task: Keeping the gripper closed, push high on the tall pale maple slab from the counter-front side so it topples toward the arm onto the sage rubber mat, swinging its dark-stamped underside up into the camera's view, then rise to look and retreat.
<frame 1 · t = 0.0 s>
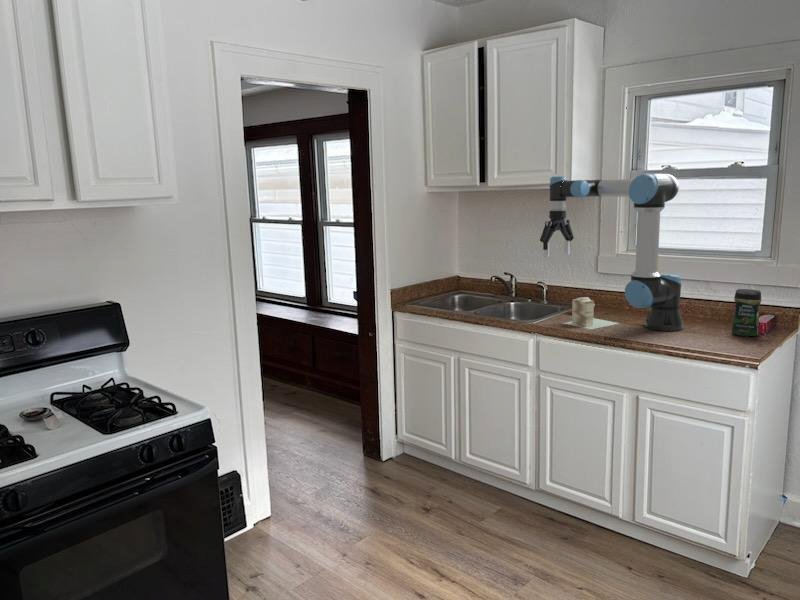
hand: (556, 255, 309), 28 cm above the counter, fingers open, 13 cm apart
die: (583, 314, 311), on the counter
mat: (590, 323, 290), on the counter
maple slab: (582, 324, 287), resting on mat
coffee jar: (744, 335, 265), on the counter
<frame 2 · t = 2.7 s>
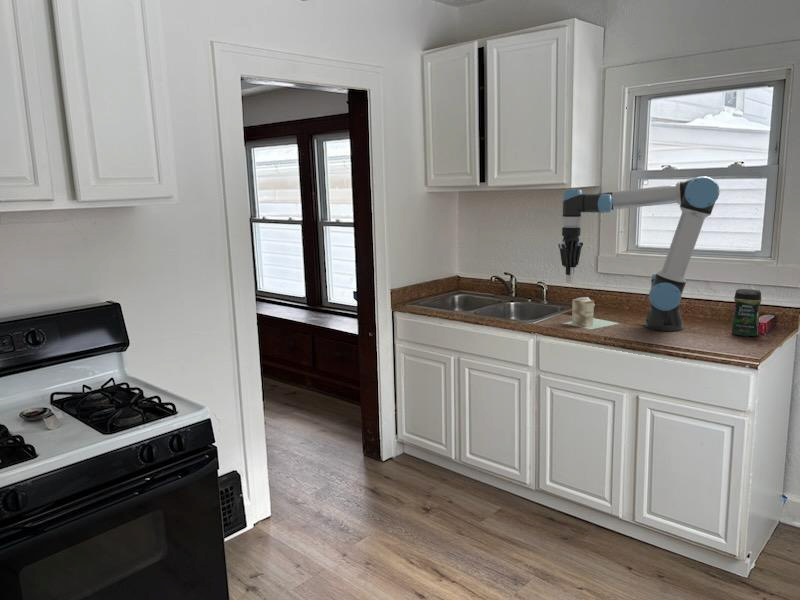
hand: (569, 282, 279), 20 cm above the counter, fingers closed
nothing on the counter moved.
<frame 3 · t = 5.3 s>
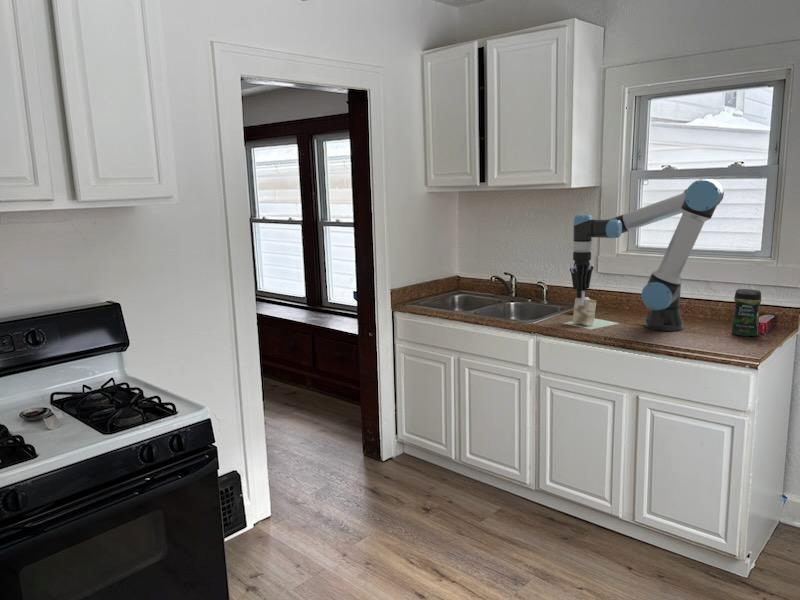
hand: (580, 305, 285), 9 cm above the counter, fingers closed
maple slab: (582, 324, 287), point 1 cm above the counter, tilted 9°, touching mat
everything else where it was.
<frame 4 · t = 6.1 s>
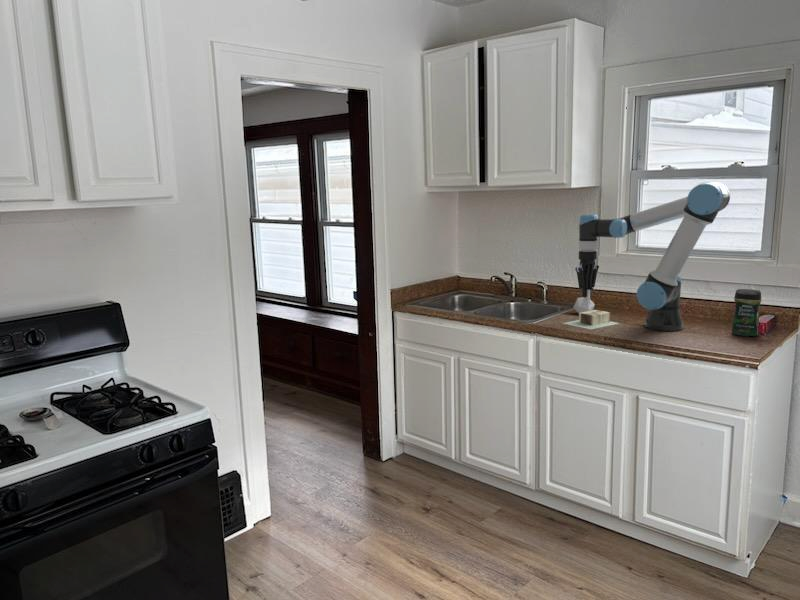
hand: (586, 304, 287), 9 cm above the counter, fingers closed
maple slab: (586, 319, 288), point 3 cm above the counter, tilted 90°, touching mat
everything else where it was.
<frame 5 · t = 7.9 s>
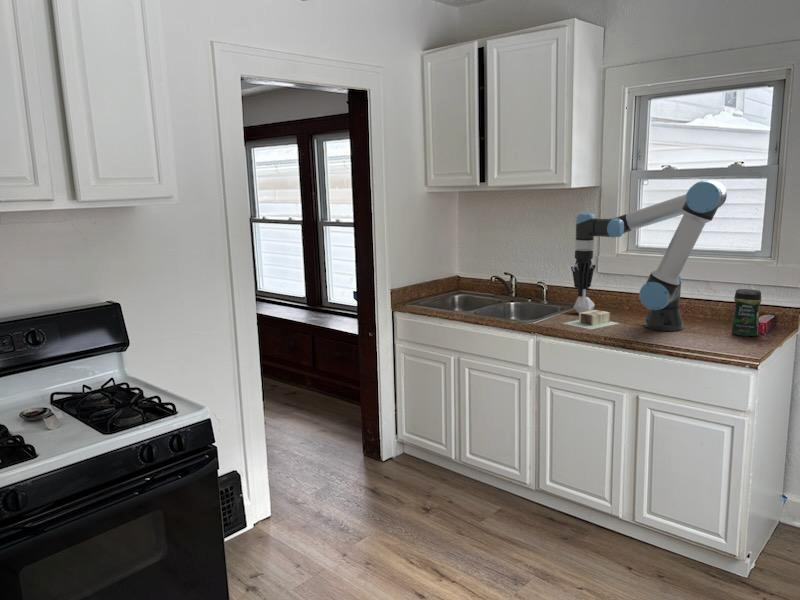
hand: (581, 303, 286), 10 cm above the counter, fingers closed
nothing on the counter moved.
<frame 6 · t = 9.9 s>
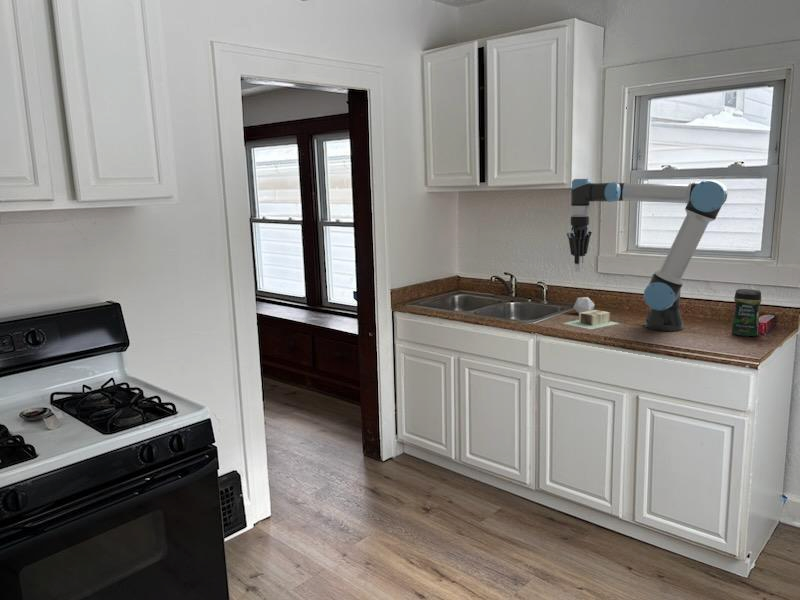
hand: (578, 271, 281), 24 cm above the counter, fingers closed
nothing on the counter moved.
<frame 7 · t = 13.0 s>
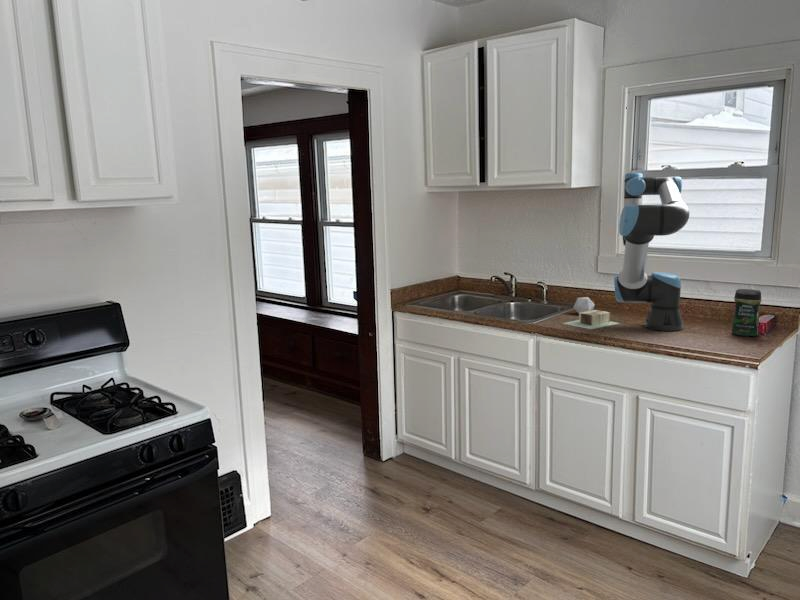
hand: (630, 260, 297), 26 cm above the counter, fingers closed
nothing on the counter moved.
at the end: maple slab tilted 90°; maple slab inside the target area (1.2 cm from its centre), point 2.5 cm above the counter; the gripper is holding nothing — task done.
